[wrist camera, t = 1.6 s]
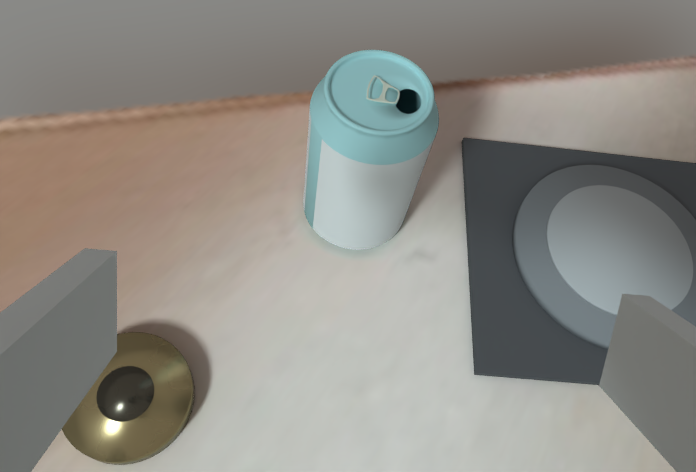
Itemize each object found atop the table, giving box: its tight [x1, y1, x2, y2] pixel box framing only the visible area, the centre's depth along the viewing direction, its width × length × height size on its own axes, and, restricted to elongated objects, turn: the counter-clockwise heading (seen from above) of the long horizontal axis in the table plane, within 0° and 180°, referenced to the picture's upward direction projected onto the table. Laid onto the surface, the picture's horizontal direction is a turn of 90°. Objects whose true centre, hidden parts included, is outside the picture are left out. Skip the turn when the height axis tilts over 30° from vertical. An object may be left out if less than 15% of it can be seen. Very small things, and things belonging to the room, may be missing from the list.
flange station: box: [462, 138, 696, 385], centre depth 39 cm, size 20×18×2 cm
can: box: [303, 50, 439, 250], centre depth 35 cm, size 7×7×12 cm
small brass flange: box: [62, 332, 194, 465], centre depth 32 cm, size 7×7×1 cm
